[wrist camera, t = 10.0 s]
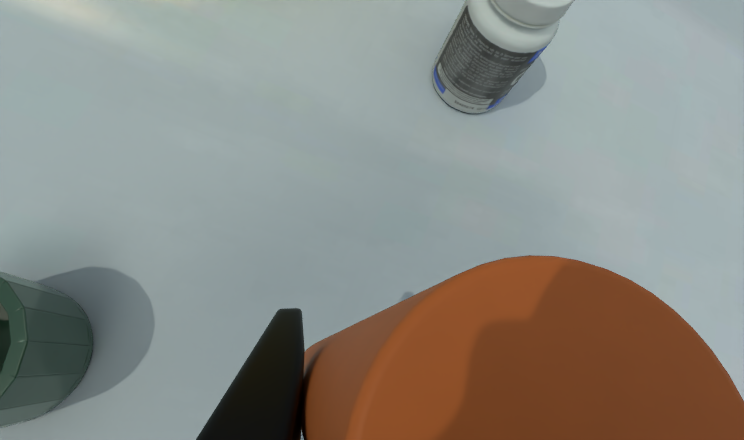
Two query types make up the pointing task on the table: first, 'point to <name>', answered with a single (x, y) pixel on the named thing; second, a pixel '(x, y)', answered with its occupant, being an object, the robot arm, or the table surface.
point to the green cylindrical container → (39, 348)
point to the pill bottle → (493, 49)
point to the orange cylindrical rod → (521, 364)
